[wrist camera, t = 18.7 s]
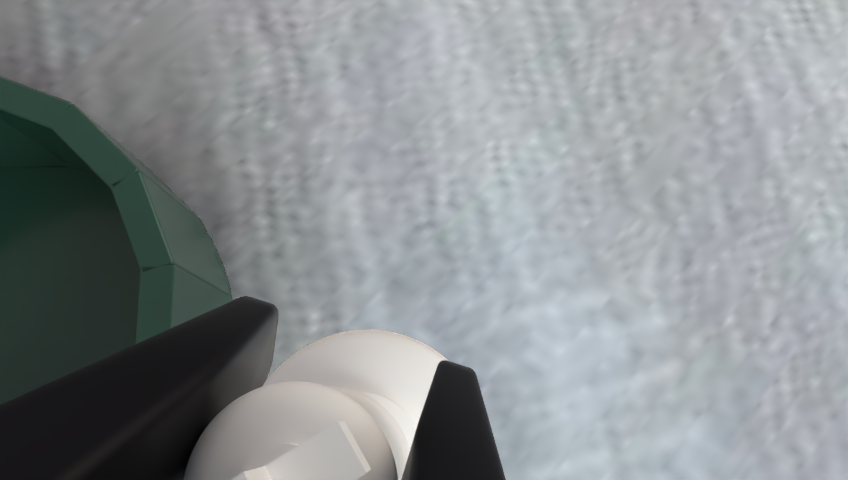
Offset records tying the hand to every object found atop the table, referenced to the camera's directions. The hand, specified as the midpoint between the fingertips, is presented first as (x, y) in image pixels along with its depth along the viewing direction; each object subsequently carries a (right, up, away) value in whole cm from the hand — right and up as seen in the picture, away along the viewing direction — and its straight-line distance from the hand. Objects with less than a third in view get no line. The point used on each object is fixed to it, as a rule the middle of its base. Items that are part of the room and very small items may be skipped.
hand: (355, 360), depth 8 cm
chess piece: (0, -3, +6) cm, 7 cm away
